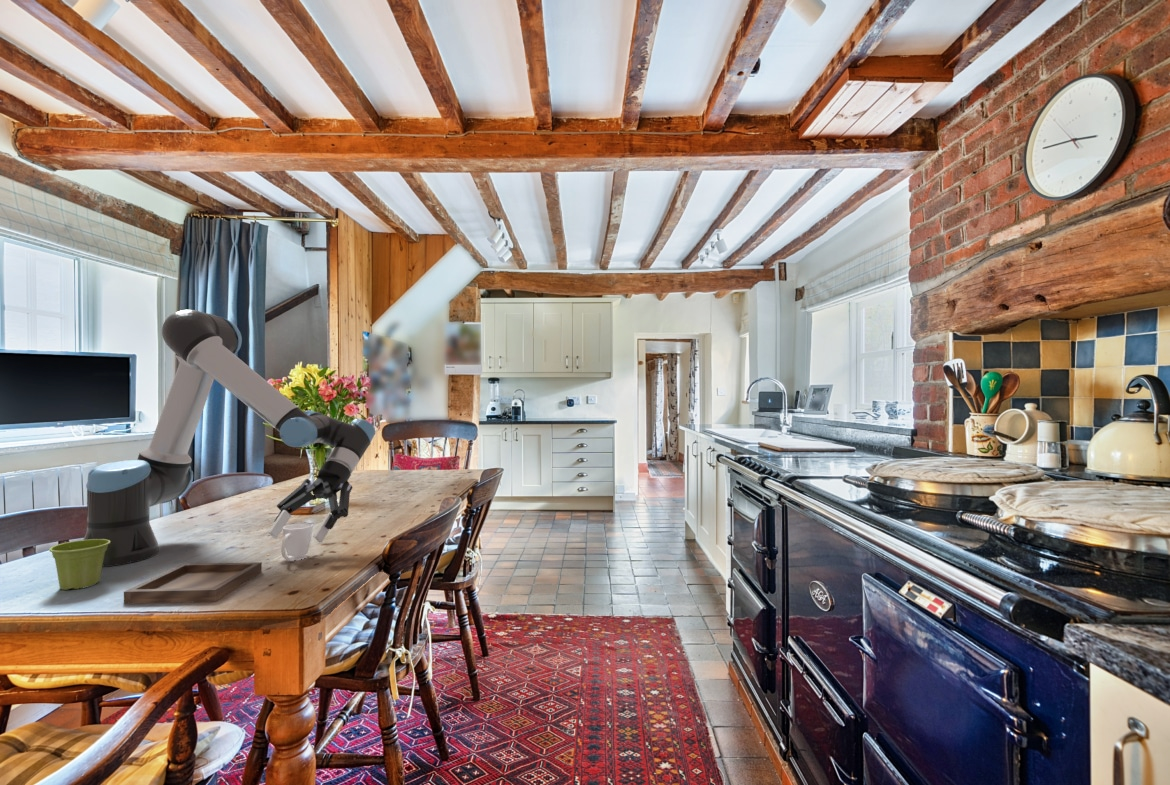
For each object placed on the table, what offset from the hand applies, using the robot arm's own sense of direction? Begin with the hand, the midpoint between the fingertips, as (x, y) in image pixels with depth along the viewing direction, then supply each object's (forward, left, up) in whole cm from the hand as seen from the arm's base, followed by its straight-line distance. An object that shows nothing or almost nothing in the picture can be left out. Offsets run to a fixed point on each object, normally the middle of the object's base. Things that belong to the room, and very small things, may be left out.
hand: (294, 537), depth 130 cm
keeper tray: (-18, -10, -6) cm, 21 cm away
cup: (0, +1, -6) cm, 6 cm away
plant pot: (-40, +3, -6) cm, 40 cm away
